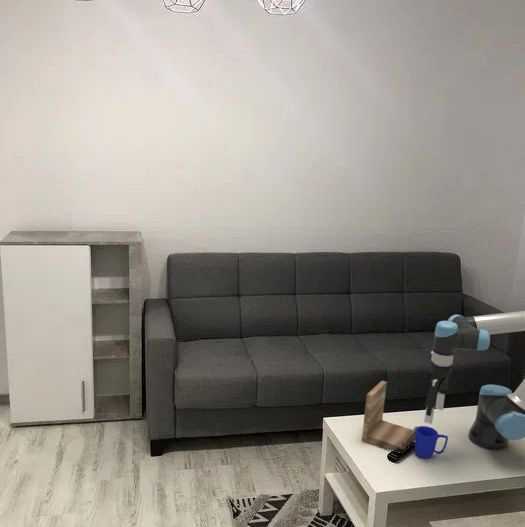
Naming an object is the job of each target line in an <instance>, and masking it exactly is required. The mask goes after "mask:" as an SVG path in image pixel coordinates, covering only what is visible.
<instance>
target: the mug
mask: <svg viewBox="0 0 525 527" xmlns="http://www.w3.org/2000/svg"><path fill="white" fill-rule="evenodd" d="M439 438H442V439H445V442H444V445H443V448H442V449H441V450H439V451H437V450H436V445H437V442H438V439H439ZM448 439H449V436H448V435H444V434H440V433H439V432H438V431H437V430H436V429H434V428H433V427H430V426H425V425H421V426H417V428H416V430H415V441H414V454H415V455H416V456H417V457H419V458H420V459H427V460H428V459H431V458H432V457H433V456H434V453H435V454H437V455H441V454H443V453H444V451H445V450H446V447H447V445H448Z"/></svg>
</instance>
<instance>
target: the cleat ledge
mask: <svg viewBox="0 0 525 527" xmlns="http://www.w3.org/2000/svg"><path fill="white" fill-rule="evenodd" d="M417 427H418V426H415V427H414V428H413V429H411V428H408V427H405V426H402V425H398V424H395V423H393V422H390V421H387V420H384V419H382V421H381V422H380V423H379V424H378V425H377V426H376V427H375V428H374V429H373V430H372V431H371V432H370V433H369V434H368V435H367V441H366V442H365V443H366V444H369V445H373V446H375V447H377V446H378V448H381V449H383V448H384V450H386V449H388V450H387V451H389V450H391V451H390V452H392V450H395V449H397V448H400V449H405V448H406V446H407V445H408V444H409V443H410V442H411V441H414V442H415V430H416V428H417Z"/></svg>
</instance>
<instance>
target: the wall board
mask: <svg viewBox="0 0 525 527" xmlns="http://www.w3.org/2000/svg"><path fill="white" fill-rule="evenodd" d="M387 384H388V382H387V381H385V380H381V381H380V382H379V383H377V385H376V386H374V387H373V388H372V389H371V390H370V391H369V392H368V393H367V394H366V396H365V397H366V399H365V408H364V416H363V424H362V435H361V442H363V443H366V441H367V435H368V434H369V433H370V432H371V431H372V430H373V429H374V428H375V427H376V426H377V425H378V424H379V423H380V422H381V421H382V420H383V416H384V409H385V401H386V393H387V392H386V390H387Z"/></svg>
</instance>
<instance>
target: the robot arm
mask: <svg viewBox="0 0 525 527" xmlns="http://www.w3.org/2000/svg"><path fill="white" fill-rule="evenodd" d="M524 331H525V310H521V311H520V310H519V311H511V312H502V313H494V314H493V313H492V314H483V315H475V316H466V317H464V315H461V314H453V315H452V316H450V317H449V318H448V319H447V320H441V321H438V322H437V323H436V325H435V330H434V338H433V347H432V351H430V354H431V358H430V359H431V360H430V365H429V371H430V373H431V374H432V375H433V377H432V378H431V379H430V384H429V388H428V393H427V395H426V399H425V403H424V404H423V406H424V408H425V407H426V408H425V413H424V419H423V421H424V423H427V424H428V425H429V424H430V425H432V424H433V420H434V419H433V418H434V411H435V409H436V410H440V411H443V410H444V405H445V404H444V403H445V398H446V395H448V393H449V391H448V377H449V376H450V375H451V374H452V369H453V366H452V365H453V363H454V355H455V350H465V351H478V352H479V351H486V350H488V349H489V347H490V344H491V337H490V336H491V335H495V334H496V335H497V334H505V333H514V332H515V333H517V332H524ZM478 394H479V395H478V402H477V409H476V416H475V420H474V421H473V424H472V425H471V427H470V429H469V430H468V439H469V440H470V441H471V442H472V443H473V444H475V445H477V446H479V447H480V448H484V449H488V450H492V451H493V450H495V451H498V450H499V451H500V450H504V449H507V447H508V446H509V440H510V441H516V440H517V441H518V440H521V439H524V438H525V378H524V379H523V381H522V382H521V383H520V384H519V386H518V387H517V388H516V389H515V391H514V392H512V390H511V389H510V388H508V387H506V386H503V385H497V384H486V385H482V386H481V388H480V391H479V393H478Z"/></svg>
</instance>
